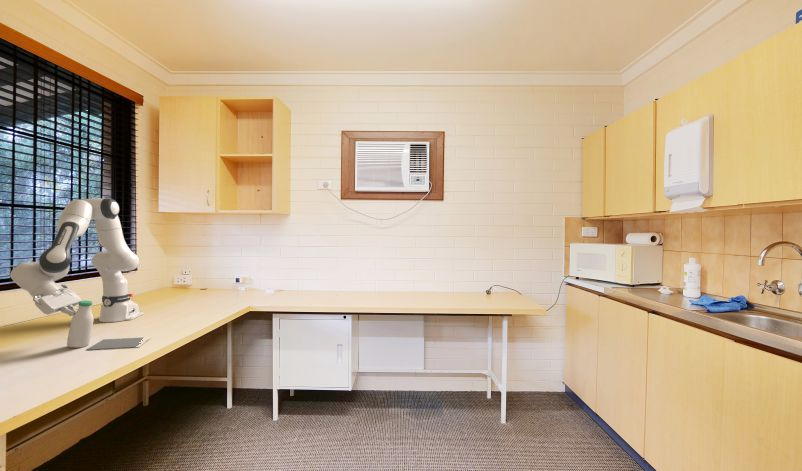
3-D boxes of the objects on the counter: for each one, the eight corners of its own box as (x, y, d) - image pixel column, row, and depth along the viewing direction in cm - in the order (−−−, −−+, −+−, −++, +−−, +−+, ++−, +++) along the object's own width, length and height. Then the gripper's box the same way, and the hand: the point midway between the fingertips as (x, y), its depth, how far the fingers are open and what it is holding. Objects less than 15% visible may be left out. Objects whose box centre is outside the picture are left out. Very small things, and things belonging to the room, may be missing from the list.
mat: (86, 350, 155) (86, 349, 155) (103, 340, 169) (103, 339, 169) (139, 347, 161) (139, 346, 160) (151, 337, 174) (151, 337, 174)
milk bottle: (93, 345, 163) (101, 302, 162) (73, 349, 155) (81, 304, 155) (82, 340, 165) (89, 298, 165) (62, 344, 157) (70, 300, 157)
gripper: (37, 292, 147) (65, 314, 149) (69, 284, 167) (93, 304, 169) (23, 303, 146) (52, 325, 148) (57, 294, 165) (82, 314, 168)
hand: (74, 314), depth 159 cm, fingers closed, pressing on milk bottle
